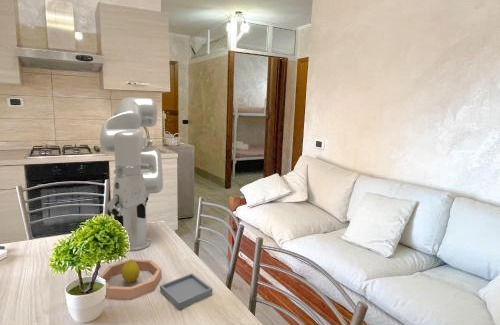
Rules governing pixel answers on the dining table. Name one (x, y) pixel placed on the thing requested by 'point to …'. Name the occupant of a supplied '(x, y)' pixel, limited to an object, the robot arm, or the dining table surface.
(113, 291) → the collar
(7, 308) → the dining table surface
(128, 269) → the lemon
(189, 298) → the tray
